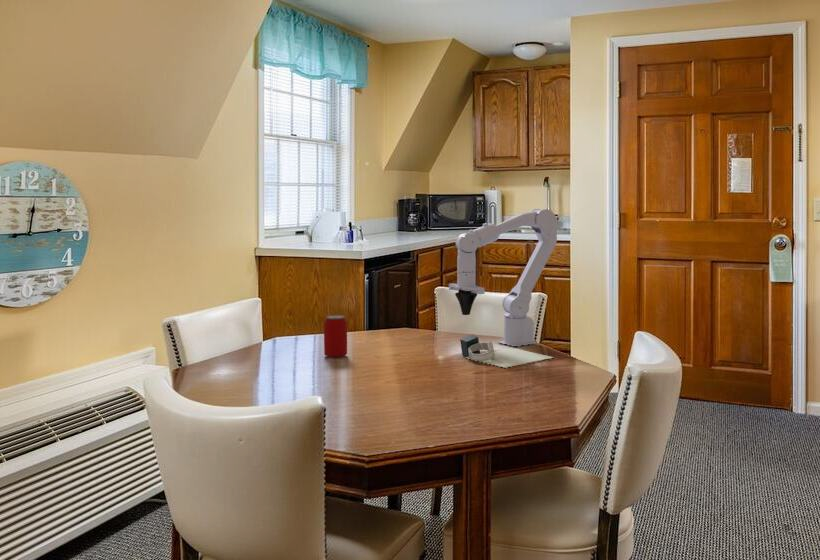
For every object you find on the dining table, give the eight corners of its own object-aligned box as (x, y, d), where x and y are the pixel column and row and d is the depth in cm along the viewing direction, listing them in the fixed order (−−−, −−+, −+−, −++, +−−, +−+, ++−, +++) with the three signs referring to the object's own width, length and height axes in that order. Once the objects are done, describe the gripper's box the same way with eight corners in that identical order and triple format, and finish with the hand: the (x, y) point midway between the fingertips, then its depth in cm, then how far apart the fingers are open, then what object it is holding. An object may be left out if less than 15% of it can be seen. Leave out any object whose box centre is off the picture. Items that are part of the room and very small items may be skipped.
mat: (513, 349, 227) (513, 348, 227) (553, 358, 214) (553, 357, 214) (465, 358, 215) (465, 357, 215) (505, 368, 202) (505, 366, 202)
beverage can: (349, 354, 221) (348, 314, 219) (344, 359, 214) (344, 318, 213) (326, 353, 221) (326, 314, 220) (322, 358, 215) (321, 318, 213)
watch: (479, 349, 221) (502, 359, 212) (457, 357, 217) (479, 369, 208) (477, 331, 219) (500, 341, 210) (455, 340, 215) (477, 351, 206)
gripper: (441, 270, 234) (441, 313, 236) (473, 274, 223) (472, 318, 224) (458, 269, 238) (457, 310, 240) (489, 273, 227) (489, 316, 229)
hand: (466, 314), depth 232 cm, fingers closed
